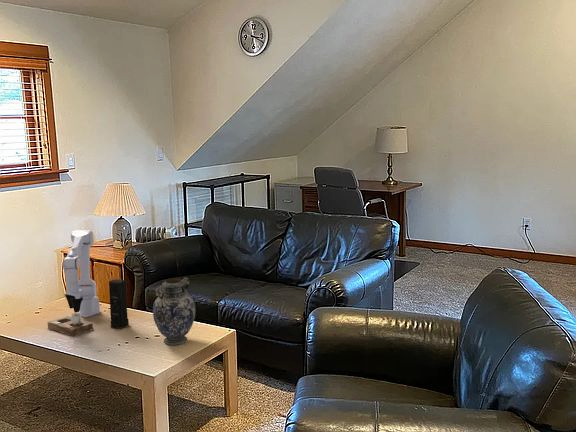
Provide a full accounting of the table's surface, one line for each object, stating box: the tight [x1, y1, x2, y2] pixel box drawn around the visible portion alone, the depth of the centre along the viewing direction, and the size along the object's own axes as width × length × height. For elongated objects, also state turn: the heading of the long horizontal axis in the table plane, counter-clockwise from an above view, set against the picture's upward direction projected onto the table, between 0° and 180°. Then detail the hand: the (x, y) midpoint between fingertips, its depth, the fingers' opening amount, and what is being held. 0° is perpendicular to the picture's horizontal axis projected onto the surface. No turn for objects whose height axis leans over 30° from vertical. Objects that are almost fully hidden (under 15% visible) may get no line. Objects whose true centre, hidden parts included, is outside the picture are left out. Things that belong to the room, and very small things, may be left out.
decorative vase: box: [152, 276, 196, 346], centre depth 252 cm, size 21×19×28 cm
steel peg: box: [71, 312, 82, 327], centre depth 269 cm, size 4×4×8 cm
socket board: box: [47, 315, 94, 337], centre depth 272 cm, size 11×20×3 cm, turn 55°
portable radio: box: [108, 276, 129, 330], centre depth 273 cm, size 8×6×25 cm
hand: (74, 310), depth 269 cm, fingers open, 7 cm apart
